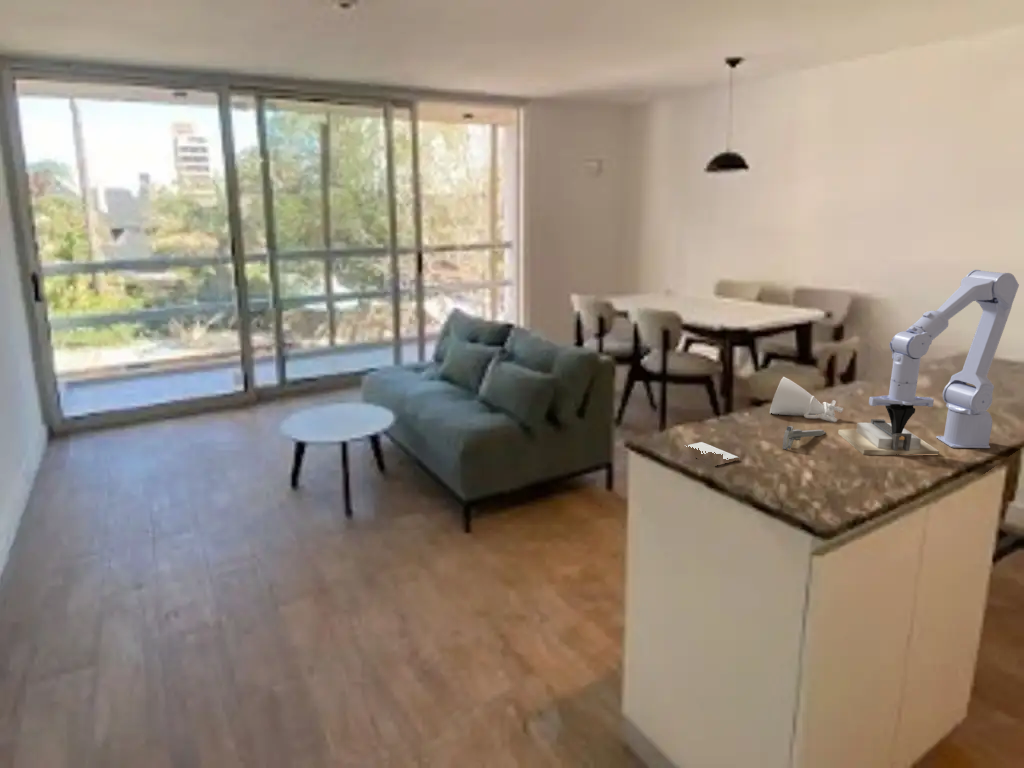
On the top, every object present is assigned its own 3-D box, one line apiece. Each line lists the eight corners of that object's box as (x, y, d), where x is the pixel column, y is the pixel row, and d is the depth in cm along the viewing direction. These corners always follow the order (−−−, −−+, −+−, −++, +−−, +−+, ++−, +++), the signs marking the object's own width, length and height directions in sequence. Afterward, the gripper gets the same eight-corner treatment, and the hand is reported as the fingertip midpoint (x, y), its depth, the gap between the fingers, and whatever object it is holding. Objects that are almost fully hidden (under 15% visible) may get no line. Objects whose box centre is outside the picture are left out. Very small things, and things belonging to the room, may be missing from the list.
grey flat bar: (884, 424, 183) (885, 421, 183) (908, 439, 171) (908, 437, 171) (873, 424, 183) (873, 421, 183) (895, 439, 171) (895, 437, 171)
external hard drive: (702, 447, 180) (739, 462, 169) (678, 453, 176) (714, 468, 165) (702, 441, 179) (739, 456, 169) (678, 446, 175) (714, 462, 165)
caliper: (786, 451, 175) (788, 428, 174) (782, 450, 176) (784, 427, 175) (825, 434, 188) (828, 412, 186) (821, 433, 189) (824, 411, 187)
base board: (907, 434, 186) (910, 414, 185) (938, 455, 171) (942, 434, 169) (838, 433, 188) (840, 413, 186) (863, 454, 172) (866, 433, 171)
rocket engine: (850, 389, 195) (785, 369, 203) (837, 421, 191) (772, 399, 198) (842, 410, 205) (781, 390, 212) (830, 442, 200) (767, 420, 208)
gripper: (880, 384, 167) (873, 438, 170) (943, 385, 166) (934, 438, 169) (868, 377, 174) (861, 429, 177) (928, 377, 173) (920, 429, 176)
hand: (896, 433), depth 174 cm, fingers closed
